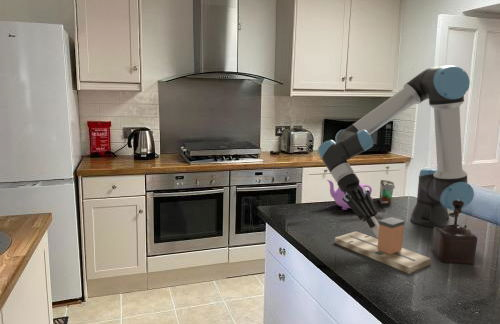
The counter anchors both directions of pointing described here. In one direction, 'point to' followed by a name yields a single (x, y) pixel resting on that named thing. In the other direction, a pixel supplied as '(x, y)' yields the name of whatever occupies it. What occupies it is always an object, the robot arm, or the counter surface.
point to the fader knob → (390, 235)
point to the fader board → (369, 245)
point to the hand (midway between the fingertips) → (380, 234)
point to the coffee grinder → (454, 240)
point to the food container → (386, 191)
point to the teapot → (339, 195)
